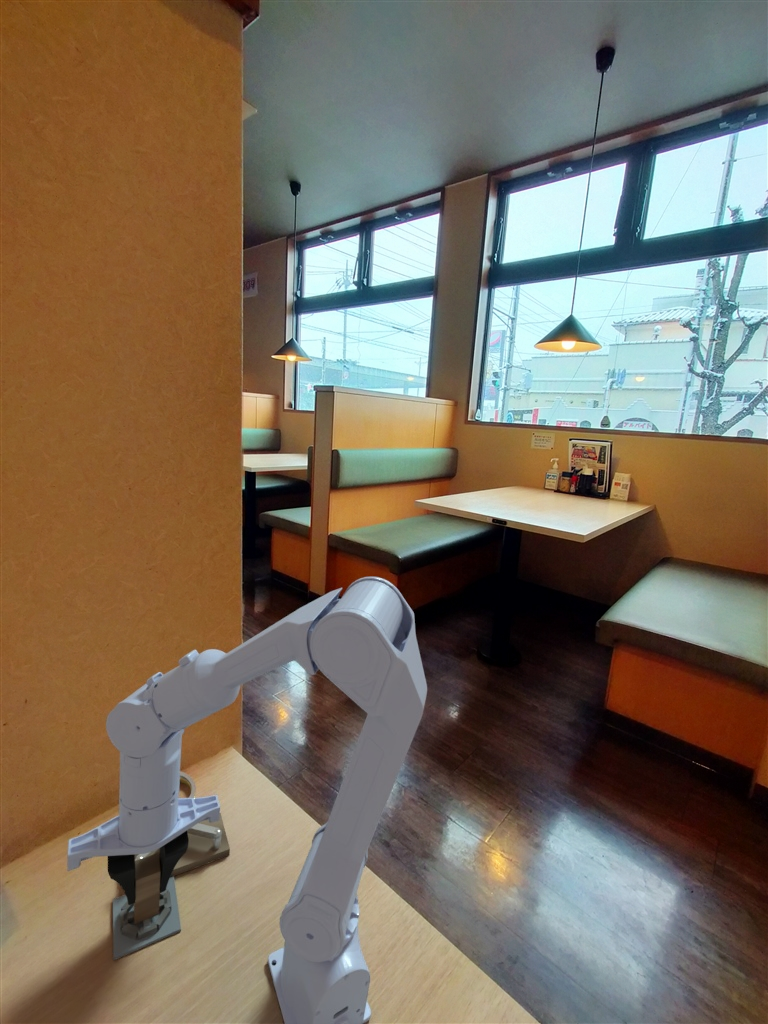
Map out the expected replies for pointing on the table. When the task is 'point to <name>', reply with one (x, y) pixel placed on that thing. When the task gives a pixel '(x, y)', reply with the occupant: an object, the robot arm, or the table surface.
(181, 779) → the ring
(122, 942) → the mat
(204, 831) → the bent wire
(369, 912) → the table surface
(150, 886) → the ring wand
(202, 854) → the base
